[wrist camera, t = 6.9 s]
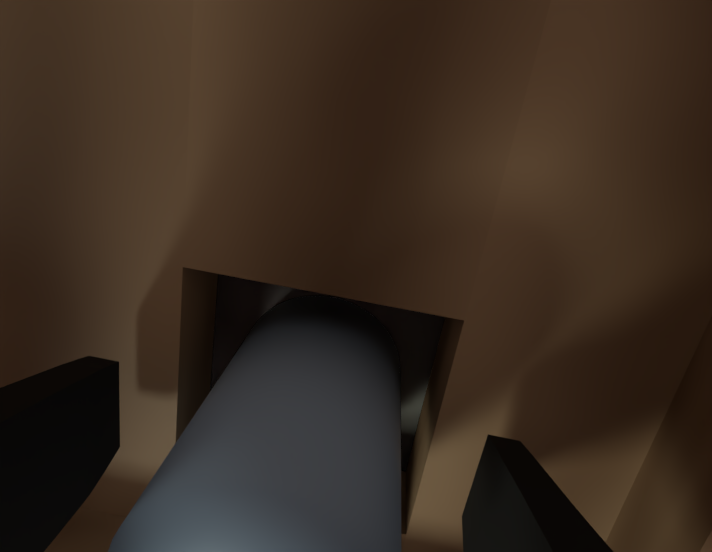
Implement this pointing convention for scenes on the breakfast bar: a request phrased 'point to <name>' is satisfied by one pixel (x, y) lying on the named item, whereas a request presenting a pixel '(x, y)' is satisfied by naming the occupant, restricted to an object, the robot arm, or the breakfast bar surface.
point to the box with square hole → (381, 225)
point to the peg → (286, 445)
